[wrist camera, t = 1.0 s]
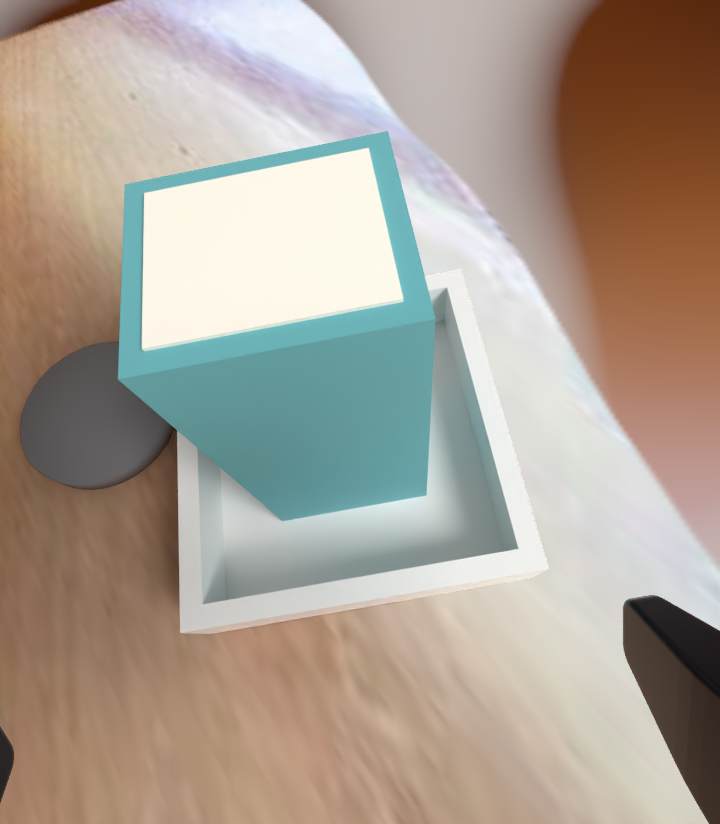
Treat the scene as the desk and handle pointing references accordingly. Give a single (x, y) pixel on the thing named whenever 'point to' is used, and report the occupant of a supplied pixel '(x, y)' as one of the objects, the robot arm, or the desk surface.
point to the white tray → (369, 512)
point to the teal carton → (285, 323)
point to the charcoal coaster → (90, 422)
